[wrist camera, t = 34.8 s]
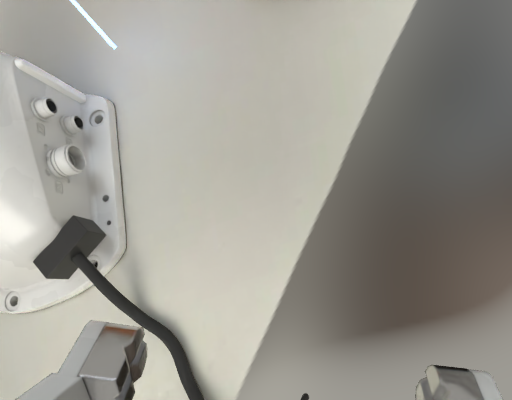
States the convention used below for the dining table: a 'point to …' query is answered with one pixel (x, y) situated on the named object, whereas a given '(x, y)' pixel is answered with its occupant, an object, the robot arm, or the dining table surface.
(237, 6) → the dining table surface
